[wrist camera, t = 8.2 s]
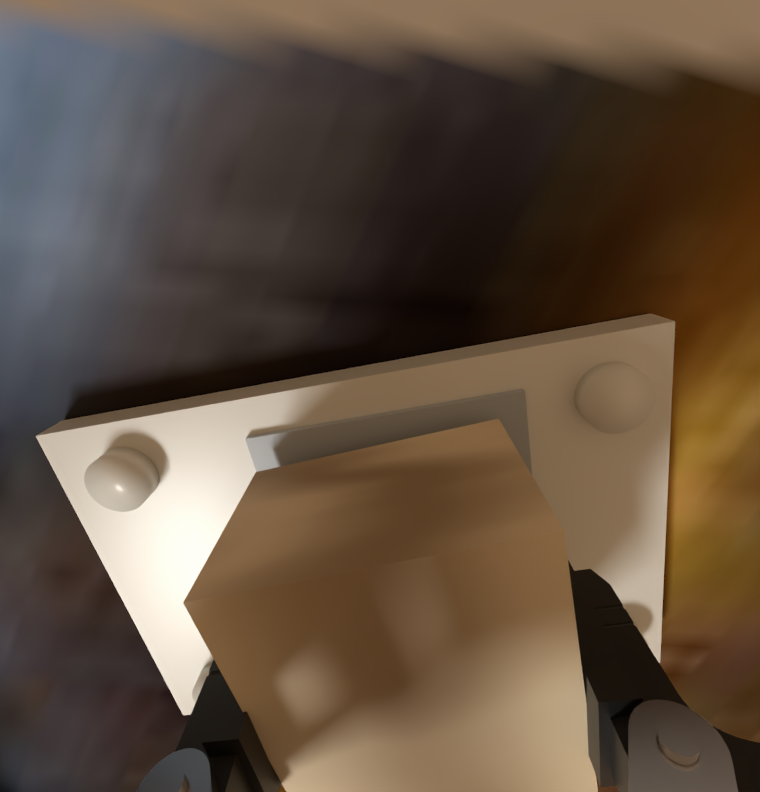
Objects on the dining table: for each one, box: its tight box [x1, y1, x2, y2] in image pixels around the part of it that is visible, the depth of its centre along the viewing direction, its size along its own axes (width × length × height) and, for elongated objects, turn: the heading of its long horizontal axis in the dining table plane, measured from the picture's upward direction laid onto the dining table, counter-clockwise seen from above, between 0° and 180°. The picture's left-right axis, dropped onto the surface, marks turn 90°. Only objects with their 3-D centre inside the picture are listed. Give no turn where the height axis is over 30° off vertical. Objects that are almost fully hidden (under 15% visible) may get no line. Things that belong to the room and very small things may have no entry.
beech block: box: [183, 419, 598, 792], centre depth 10 cm, size 6×8×4 cm
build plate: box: [36, 313, 675, 715], centre depth 13 cm, size 16×11×2 cm
